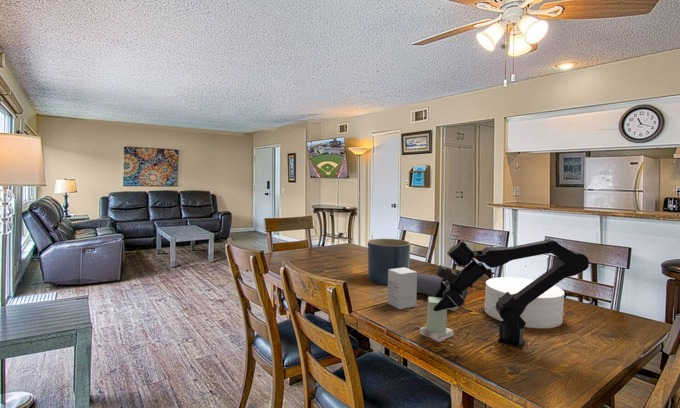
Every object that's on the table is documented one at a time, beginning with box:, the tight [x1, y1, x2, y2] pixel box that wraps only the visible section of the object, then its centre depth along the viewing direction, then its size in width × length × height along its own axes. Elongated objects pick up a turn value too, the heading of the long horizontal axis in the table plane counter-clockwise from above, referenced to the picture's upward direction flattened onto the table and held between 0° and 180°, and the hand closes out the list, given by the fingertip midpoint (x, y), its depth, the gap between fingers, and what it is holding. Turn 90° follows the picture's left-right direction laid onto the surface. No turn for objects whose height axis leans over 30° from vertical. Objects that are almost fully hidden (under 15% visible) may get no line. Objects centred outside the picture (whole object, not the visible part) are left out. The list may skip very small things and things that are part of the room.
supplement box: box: [387, 267, 418, 310], centre depth 156 cm, size 9×9×15 cm
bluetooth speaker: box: [417, 272, 469, 302], centre depth 166 cm, size 23×9×10 cm, turn 50°
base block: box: [419, 325, 454, 343], centre depth 127 cm, size 8×8×2 cm
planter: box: [367, 238, 411, 286], centre depth 195 cm, size 22×22×20 cm
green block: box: [426, 296, 448, 333], centre depth 127 cm, size 6×6×10 cm
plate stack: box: [484, 276, 565, 329], centre depth 148 cm, size 28×28×12 cm
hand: (433, 305), depth 127 cm, fingers open, 9 cm apart
